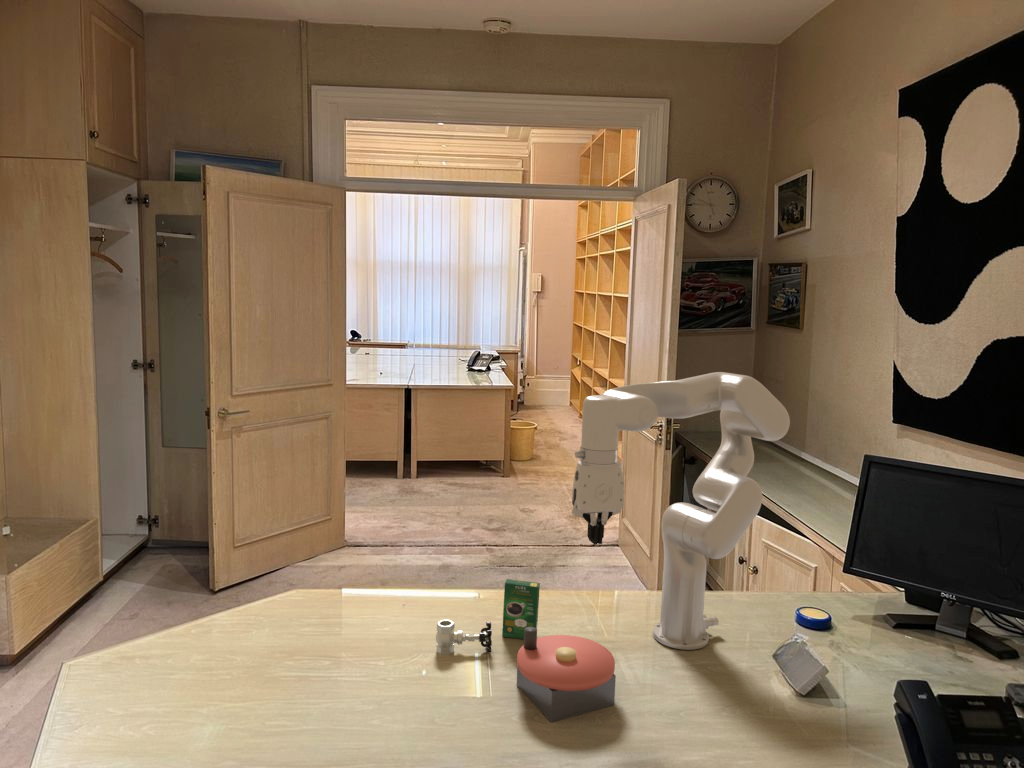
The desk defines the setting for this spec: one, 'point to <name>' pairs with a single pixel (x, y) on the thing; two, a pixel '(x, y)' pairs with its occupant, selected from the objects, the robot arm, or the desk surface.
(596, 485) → the robot arm
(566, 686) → the handwheel
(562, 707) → the block
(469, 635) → the valve
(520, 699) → the desk surface
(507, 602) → the coffee box
